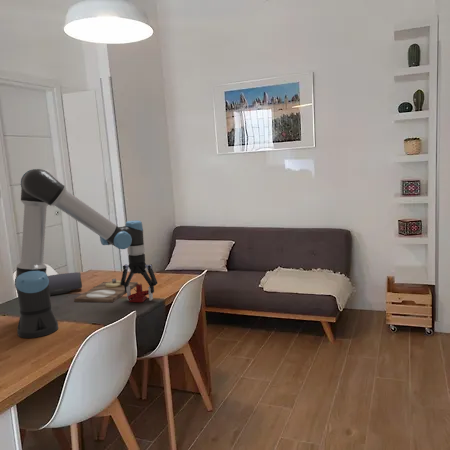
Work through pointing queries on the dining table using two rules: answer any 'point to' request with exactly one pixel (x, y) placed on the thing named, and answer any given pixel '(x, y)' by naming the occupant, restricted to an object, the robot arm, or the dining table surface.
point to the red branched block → (138, 294)
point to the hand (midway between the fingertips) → (140, 299)
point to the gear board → (104, 292)
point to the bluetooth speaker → (64, 283)
